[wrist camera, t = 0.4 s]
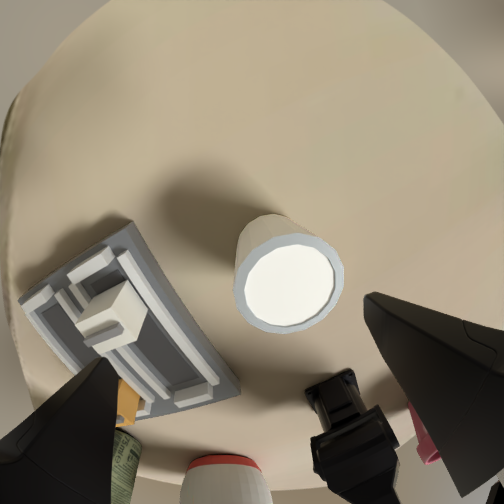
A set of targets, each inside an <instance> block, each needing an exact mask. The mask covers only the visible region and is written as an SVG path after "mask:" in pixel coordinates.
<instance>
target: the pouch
mask: <svg viewBox="0 0 504 504" xmlns="http://www.w3.org/2000/svg"><path fill="white" fill-rule="evenodd" d="M141 450H142V448H141V445H140V443H139V442H138V441H137V440H136V439H134V438H133V437H131V436H130V435H128V434H126V433H123V432H120V431H118V430H116V429H115V437H114V448H113V461H112V480H111V504H130V501H131V496H132V491H133V487H134V482H135V478H136V473H137V468H138V464H139V459H140V455H141Z"/></svg>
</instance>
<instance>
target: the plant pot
mask: <svg viewBox="0 0 504 504" xmlns="http://www.w3.org/2000/svg"><path fill="white" fill-rule="evenodd" d="M408 408H409V410H410V414H411V417H412V420H413V424H414V428H415V431H416V435H417V438H418V442H419V445H418V446H417V452H418V454H419V456H420V458H421V460H422V461H423V463H424V464H425V465H428V464H431V463H433V462H436V461H438V460H439V459H441V456H440V454H439V452H438V450H437V449H436V447H435V445H434V443H433V441H432V439H431V438H430V436H429V434H428V432H427V430H426V429H425V427H424V425H423V423H422V422H421V420H420V418H419V416H418V415H417V413H416V411H415V409H414V408H413V406H412V404H411V403H410V401H409V402H408Z"/></svg>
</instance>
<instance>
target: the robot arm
mask: <svg viewBox="0 0 504 504" xmlns="http://www.w3.org/2000/svg"><path fill="white" fill-rule="evenodd" d="M363 303H364V320H365V322H366V324H367V326H368V328H369V330H370V332H371V334H372V336H373V339H374V341H375V343H376V345H377V347H378V349H379V351H380V353H381V355H382V357H383V359H384V360H385V362H386V363H387V365H388V367H389V368H390V370H391V371H392V373H393V375H394V376H395V378H396V379H397V381H398V383H399V384H400V386H401V388H402V389H403V391H404V393H405V394H406V396H407V398H408V399H409V401H410V403H411V404H412V406H413V408H414V409H415V411H416V413H417V415H418V416H419V418H420V420H421V422H422V423H423V425H424V427H425V429H426V430H427V432H428V434H429V436H430V438H431V439H432V441H433V443H434V445H435V447H436V449H437V450H438V452H439V454H440V456H441V458H442V460H443V462H444V464H445V466H446V468H447V470H448V472H449V474H450V476H451V478H452V480H453V482H454V484H455V486H456V488H457V490H458V492H459V494H460V496H461V497H462V498H463V497H464V496H466V495H468V494H469V493H470V492H472V491H474V490H475V489H476V488H478V487H480V486H481V485H482V484H484V483H485V482H487V481H488V480H489V479H490V478H492V477H493V476H495V475H497V477H498V479H499V480H498V482H496V483H495V484H494V485H493V486H492V487H491V490H490V493H489V496H488V499H487V502H486V504H504V331H502V330H498V329H494V328H490V327H486V326H482V325H479V324H476V323H472V322H469V321H466V320H462V319H460V318H457V317H453V316H450V315H447V314H444V313H441V312H438V311H435V310H432V309H429V308H425V307H422V306H419V305H416V304H413V303H410V302H407V301H404V300H401V299H397V298H394V297H391V296H388V295H385V294H382V293H379V292H372V293H369V294H366V295H365V296H364V299H363ZM118 384H119V376H118V373H117V371H116V370H115V369H114V367H113V366H112V364H111V363H110V361H109V360H108V358H106V357H97V358H95V359H94V360H92V361H91V362H90V363H89V364H88V365H87V366H85V367H84V368H83V369H82V370H81V371H80V372H79V373H77V374H76V375H75V376H74V377H73V378H72V379H70V380H69V381H68V382H67V383H66V384H65V385H64V386H62V387H61V388H60V389H59V390H58V391H57V392H56V393H55V394H53V395H52V396H51V397H50V398H49V399H48V400H47V401H45V402H44V403H43V404H42V405H41V406H40V407H39V408H38V409H37V410H36V411H34V412H33V413H32V414H31V415H30V416H29V417H28V418H27V419H25V420H24V421H23V422H22V423H21V424H19V425H18V426H17V427H16V428H14V429H13V430H12V431H11V432H9V433H8V434H7V435H6V436H4V437H3V438H2V439H1V440H0V504H111V480H112V461H113V448H114V437H115V428H116V420H117V406H118ZM305 395H306V397H307V399H308V400H309V402H310V404H311V406H312V407H313V409H314V411H315V413H316V414H318V417H319V419H320V422H321V425H322V428H323V431H324V433H322V434H320V435H318V436H313V437H311V438H310V439H311V443H310V445H311V451H312V458H313V471H314V473H316V474H319V476H320V477H321V479H322V480H323V481H326V482H327V485H328V488H329V489H330V490H331V491H332V492H334V493H335V494H337V495H339V496H340V497H342V498H343V499H345V500H347V501H348V502H350V503H351V504H401V501H400V499H399V497H398V494H397V492H396V490H395V486H396V481H397V477H398V472H399V466H400V463H399V460H398V457H397V454H396V452H395V450H394V449H396V448H398V447H399V446H400V445H399V443H398V440H397V438H396V436H395V434H394V432H393V430H392V428H391V426H390V425H389V423H388V421H387V419H386V418H385V416H384V414H383V412H382V411H381V409H380V407H379V406H378V405H376V406H374V408H372V409H370V410H367V408H366V406H365V405H364V403H363V401H362V399H361V397H360V392H359V388H358V384H357V380H356V377H355V373H354V371H353V370H349V371H347V372H344V373H342V374H340V375H338V376H336V377H334V378H332V379H329V380H327V381H325V382H323V383H320V384H318V385H316V386H314V387H311V388H309V389H307V390H305Z"/></svg>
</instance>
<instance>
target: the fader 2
mask: <svg viewBox="0 0 504 504" xmlns="http://www.w3.org/2000/svg"><path fill="white" fill-rule="evenodd" d="M139 399H140V395H139V394H138V393H137V392H136V391H135V390H134V389H132V388H131V387H130V386H129V385H128V384H127V383H126V382H125V381H124V380H123V379H120V380H119V384H118V406H117V420H116V427H119V426H126V425H133V424H134V422H135V417H136V412H137V408H138V403H139Z"/></svg>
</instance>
